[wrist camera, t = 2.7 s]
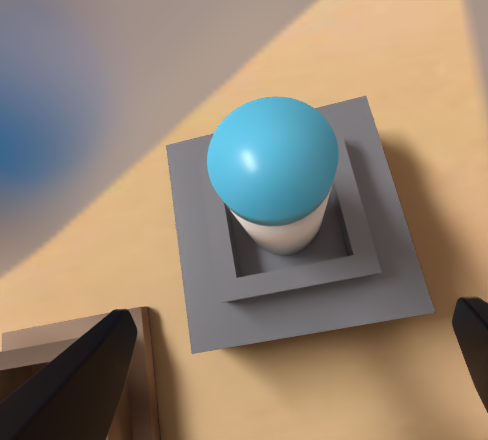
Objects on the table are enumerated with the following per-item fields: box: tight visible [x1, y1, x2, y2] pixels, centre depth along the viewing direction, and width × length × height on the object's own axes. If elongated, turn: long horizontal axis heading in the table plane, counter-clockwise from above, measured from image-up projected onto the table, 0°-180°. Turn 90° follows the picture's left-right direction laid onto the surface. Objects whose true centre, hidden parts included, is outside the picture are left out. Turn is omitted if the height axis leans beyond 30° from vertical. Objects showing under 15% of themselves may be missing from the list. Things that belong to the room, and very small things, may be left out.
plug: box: [207, 97, 339, 255], centre depth 14 cm, size 4×4×8 cm
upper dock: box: [166, 96, 435, 354], centre depth 19 cm, size 12×12×6 cm
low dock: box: [0, 307, 160, 440], centre depth 19 cm, size 10×10×4 cm
